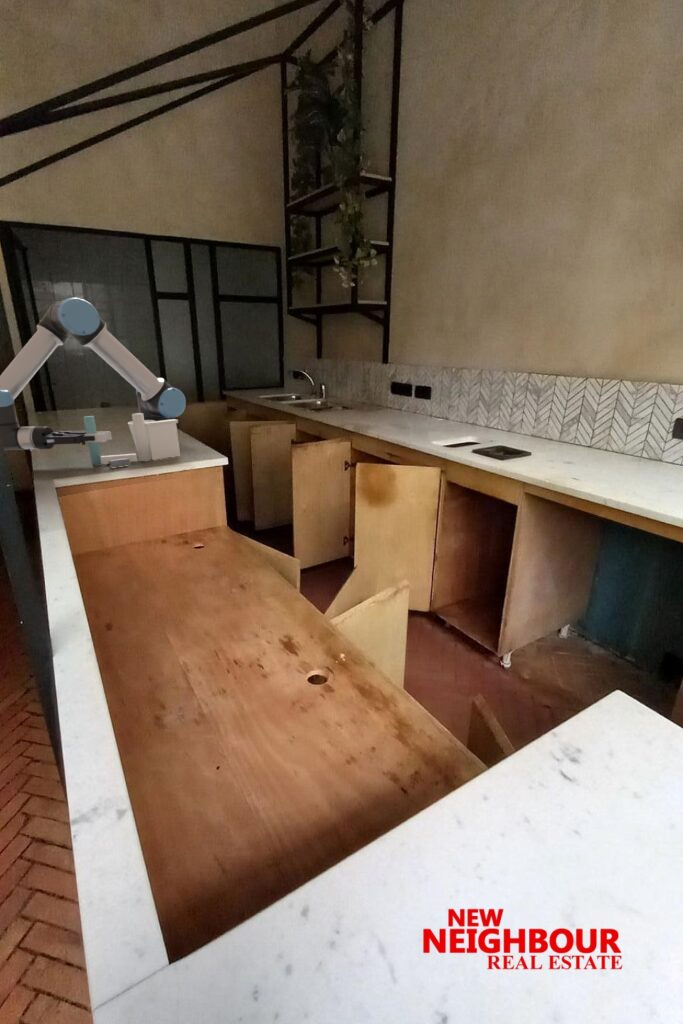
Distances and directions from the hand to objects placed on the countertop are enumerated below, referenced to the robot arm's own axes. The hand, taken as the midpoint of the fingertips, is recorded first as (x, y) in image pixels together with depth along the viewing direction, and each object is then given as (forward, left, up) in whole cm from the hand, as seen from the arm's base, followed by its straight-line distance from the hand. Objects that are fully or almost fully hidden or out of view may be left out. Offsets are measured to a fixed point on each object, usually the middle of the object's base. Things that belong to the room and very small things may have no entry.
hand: (108, 436), depth 165 cm
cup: (-17, -16, -10) cm, 25 cm away
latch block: (-1, +5, -10) cm, 11 cm away
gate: (-3, 0, -9) cm, 10 cm away
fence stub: (-17, +2, -10) cm, 20 cm away
